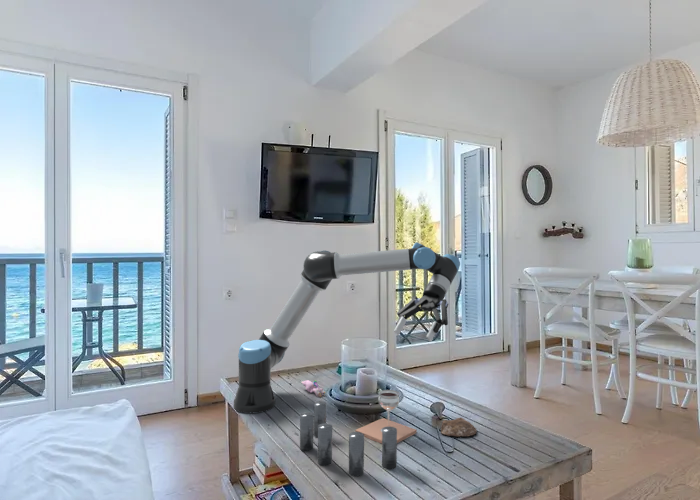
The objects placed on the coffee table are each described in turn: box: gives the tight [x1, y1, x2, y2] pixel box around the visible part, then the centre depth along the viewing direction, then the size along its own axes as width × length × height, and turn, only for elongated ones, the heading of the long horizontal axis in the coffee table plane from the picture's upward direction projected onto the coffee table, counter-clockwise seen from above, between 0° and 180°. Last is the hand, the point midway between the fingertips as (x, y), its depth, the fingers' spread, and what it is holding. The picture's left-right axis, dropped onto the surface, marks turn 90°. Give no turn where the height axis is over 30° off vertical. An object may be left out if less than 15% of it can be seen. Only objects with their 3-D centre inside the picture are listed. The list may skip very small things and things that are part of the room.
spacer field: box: [299, 400, 398, 478], centre depth 126 cm, size 32×15×10 cm, turn 47°
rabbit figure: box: [301, 379, 326, 398], centre depth 180 cm, size 6×6×15 cm
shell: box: [440, 417, 478, 439], centre depth 145 cm, size 12×13×4 cm
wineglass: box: [377, 389, 400, 432], centre depth 141 cm, size 7×7×12 cm
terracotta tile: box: [354, 417, 417, 445], centre depth 142 cm, size 14×14×1 cm
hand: (411, 336), depth 152 cm, fingers open, 13 cm apart
